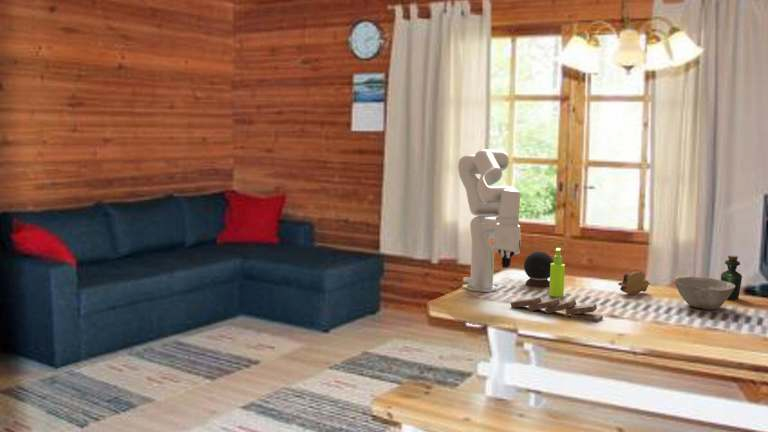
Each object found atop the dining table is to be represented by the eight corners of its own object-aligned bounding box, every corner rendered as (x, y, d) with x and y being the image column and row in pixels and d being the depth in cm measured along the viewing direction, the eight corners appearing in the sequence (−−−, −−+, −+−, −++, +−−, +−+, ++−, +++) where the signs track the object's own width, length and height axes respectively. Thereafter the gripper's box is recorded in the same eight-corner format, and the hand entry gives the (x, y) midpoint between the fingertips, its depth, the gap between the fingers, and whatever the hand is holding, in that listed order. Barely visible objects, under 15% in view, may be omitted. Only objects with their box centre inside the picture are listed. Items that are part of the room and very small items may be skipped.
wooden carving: (640, 291, 323) (642, 268, 322) (649, 293, 320) (651, 270, 318) (615, 295, 314) (616, 271, 313) (624, 297, 311) (625, 273, 309)
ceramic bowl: (703, 316, 281) (705, 290, 280) (659, 302, 303) (661, 278, 301) (747, 312, 290) (749, 287, 288) (701, 298, 311) (703, 275, 310)
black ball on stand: (558, 287, 327) (560, 253, 325) (531, 288, 324) (532, 254, 322) (544, 281, 340) (546, 248, 338) (518, 282, 336) (519, 249, 335)
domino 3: (544, 308, 282) (568, 302, 276) (551, 305, 286) (574, 299, 280) (546, 313, 281) (570, 307, 275) (553, 310, 286) (576, 304, 280)
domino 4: (565, 309, 277) (592, 306, 272) (569, 306, 282) (595, 303, 277) (566, 314, 277) (593, 311, 272) (570, 311, 282) (597, 308, 277)
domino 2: (528, 306, 285) (551, 301, 279) (535, 303, 290) (558, 298, 283) (529, 311, 285) (552, 306, 279) (537, 308, 290) (560, 303, 283)
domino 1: (510, 302, 290) (532, 299, 284) (518, 300, 295) (540, 297, 288) (511, 307, 290) (534, 304, 283) (519, 305, 294) (541, 302, 288)
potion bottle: (729, 295, 318) (733, 253, 316) (744, 299, 310) (748, 257, 308) (714, 296, 315) (717, 254, 313) (729, 301, 308) (733, 258, 305)
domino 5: (570, 314, 276) (597, 318, 271) (576, 311, 281) (602, 315, 276) (570, 319, 276) (597, 324, 271) (576, 316, 281) (602, 320, 276)
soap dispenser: (548, 296, 309) (550, 248, 307) (549, 293, 316) (552, 246, 313) (562, 297, 308) (565, 249, 305) (564, 294, 314) (566, 247, 312)
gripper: (487, 219, 291) (484, 265, 295) (522, 225, 283) (519, 272, 287) (495, 217, 297) (492, 262, 301) (530, 222, 289) (527, 268, 293)
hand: (505, 266), depth 294 cm, fingers closed
